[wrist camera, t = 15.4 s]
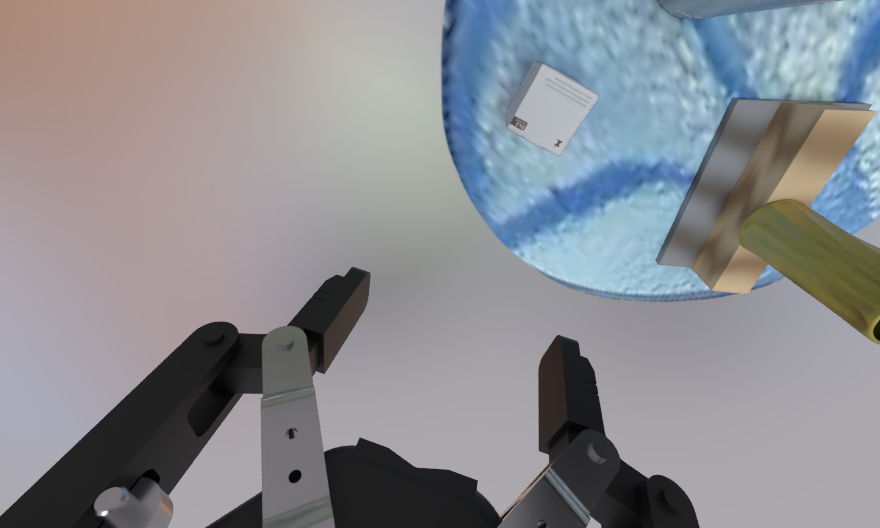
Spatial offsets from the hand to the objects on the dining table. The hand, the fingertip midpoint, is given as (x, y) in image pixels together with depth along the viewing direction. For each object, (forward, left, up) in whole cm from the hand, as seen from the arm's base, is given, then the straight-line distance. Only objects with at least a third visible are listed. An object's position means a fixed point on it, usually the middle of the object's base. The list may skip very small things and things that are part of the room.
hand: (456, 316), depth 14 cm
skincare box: (-4, +7, -31) cm, 32 cm away
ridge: (+5, +32, -31) cm, 44 cm away
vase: (+6, +31, -25) cm, 40 cm away
